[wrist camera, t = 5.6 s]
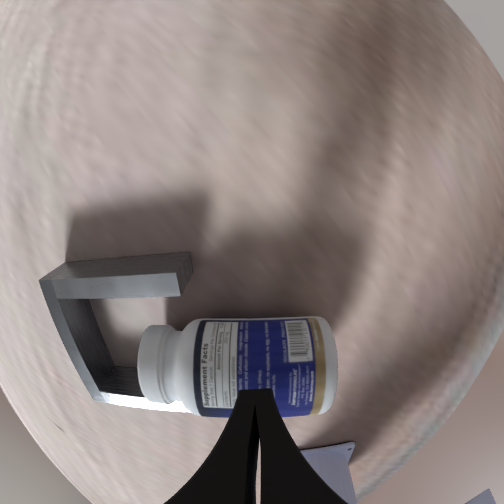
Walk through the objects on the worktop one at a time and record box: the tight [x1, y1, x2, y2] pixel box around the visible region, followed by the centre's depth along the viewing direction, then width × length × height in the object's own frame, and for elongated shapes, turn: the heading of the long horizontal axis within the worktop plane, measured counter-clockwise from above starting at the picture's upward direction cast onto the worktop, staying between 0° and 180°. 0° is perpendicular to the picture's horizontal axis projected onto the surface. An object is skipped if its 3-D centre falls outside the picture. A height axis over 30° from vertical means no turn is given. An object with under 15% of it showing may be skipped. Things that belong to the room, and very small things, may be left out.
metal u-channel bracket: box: [39, 252, 193, 412], centre depth 15 cm, size 10×9×3 cm
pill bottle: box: [137, 316, 338, 418], centre depth 14 cm, size 6×6×10 cm
